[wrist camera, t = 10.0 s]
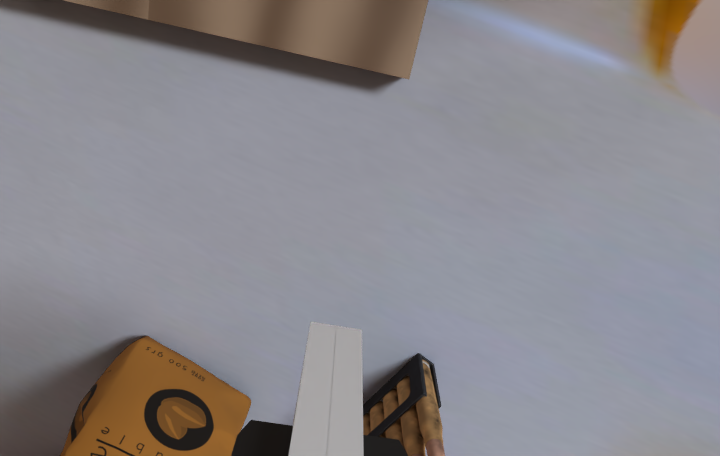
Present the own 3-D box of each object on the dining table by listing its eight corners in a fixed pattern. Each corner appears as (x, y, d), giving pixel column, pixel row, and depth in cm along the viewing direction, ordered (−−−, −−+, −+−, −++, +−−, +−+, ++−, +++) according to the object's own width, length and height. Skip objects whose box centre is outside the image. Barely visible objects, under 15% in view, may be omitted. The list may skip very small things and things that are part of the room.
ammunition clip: (354, 437, 47) (354, 565, 35) (339, 427, 46) (333, 553, 35) (434, 364, 44) (461, 477, 33) (418, 352, 43) (440, 463, 32)
